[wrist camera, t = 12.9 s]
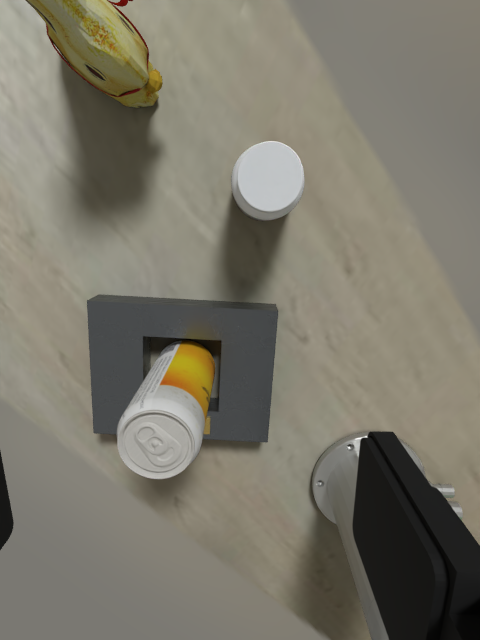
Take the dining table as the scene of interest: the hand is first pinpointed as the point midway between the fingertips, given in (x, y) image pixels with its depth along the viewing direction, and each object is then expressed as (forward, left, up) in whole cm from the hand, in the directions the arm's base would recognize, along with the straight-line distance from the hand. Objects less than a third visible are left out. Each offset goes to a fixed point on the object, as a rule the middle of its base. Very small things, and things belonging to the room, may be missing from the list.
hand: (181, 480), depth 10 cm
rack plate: (+4, +9, -30) cm, 31 cm away
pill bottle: (-3, -9, -30) cm, 31 cm away
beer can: (+4, +9, -30) cm, 31 cm away
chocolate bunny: (+10, -19, -30) cm, 37 cm away
